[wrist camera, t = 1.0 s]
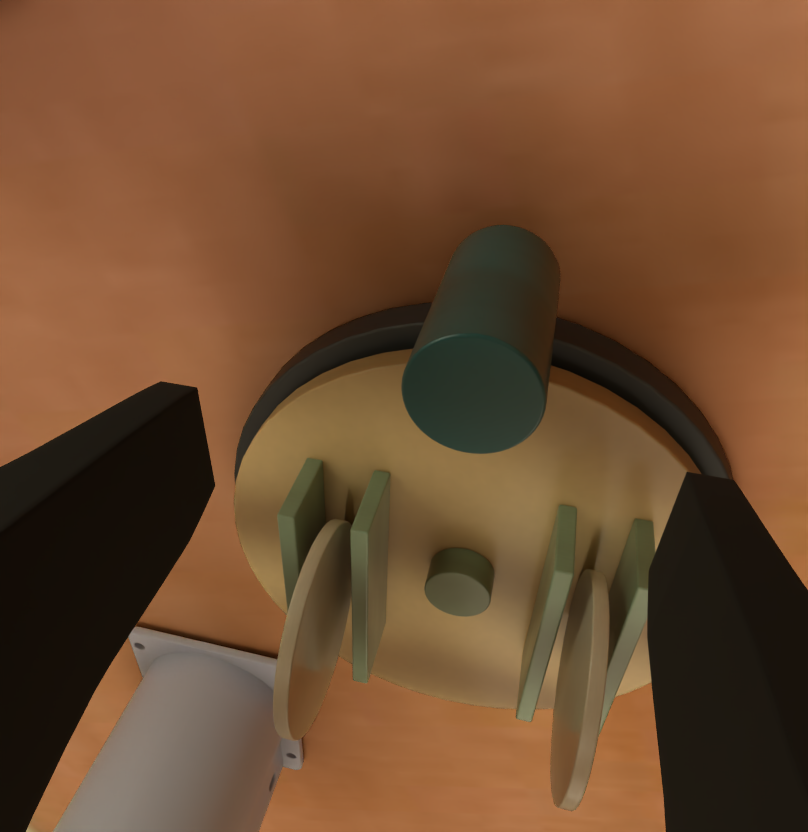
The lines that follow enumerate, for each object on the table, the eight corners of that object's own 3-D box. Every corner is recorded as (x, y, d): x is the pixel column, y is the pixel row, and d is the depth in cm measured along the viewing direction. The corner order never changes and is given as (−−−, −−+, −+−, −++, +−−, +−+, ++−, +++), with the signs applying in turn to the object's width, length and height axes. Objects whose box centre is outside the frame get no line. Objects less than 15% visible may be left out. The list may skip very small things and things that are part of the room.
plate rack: (649, 727, 25) (661, 948, 20) (264, 639, 28) (184, 815, 22) (877, 268, 14) (1041, 495, 9) (197, 184, 16) (3, 323, 11)
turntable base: (657, 699, 27) (659, 729, 26) (268, 612, 29) (257, 636, 28) (828, 349, 17) (841, 375, 16) (220, 263, 19) (200, 282, 18)
